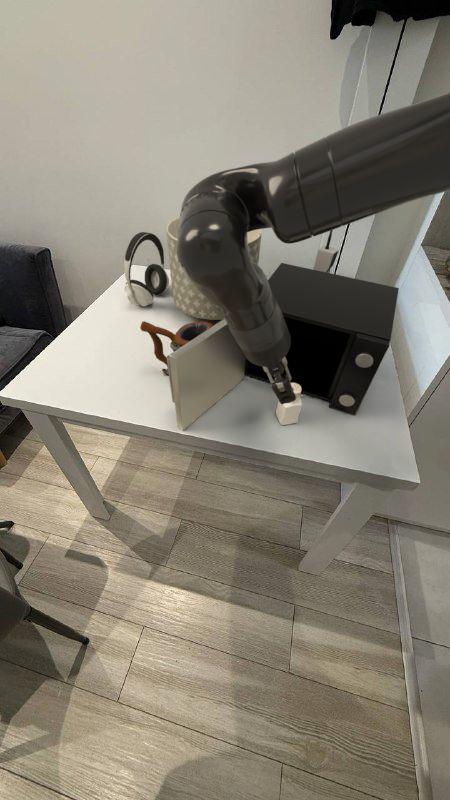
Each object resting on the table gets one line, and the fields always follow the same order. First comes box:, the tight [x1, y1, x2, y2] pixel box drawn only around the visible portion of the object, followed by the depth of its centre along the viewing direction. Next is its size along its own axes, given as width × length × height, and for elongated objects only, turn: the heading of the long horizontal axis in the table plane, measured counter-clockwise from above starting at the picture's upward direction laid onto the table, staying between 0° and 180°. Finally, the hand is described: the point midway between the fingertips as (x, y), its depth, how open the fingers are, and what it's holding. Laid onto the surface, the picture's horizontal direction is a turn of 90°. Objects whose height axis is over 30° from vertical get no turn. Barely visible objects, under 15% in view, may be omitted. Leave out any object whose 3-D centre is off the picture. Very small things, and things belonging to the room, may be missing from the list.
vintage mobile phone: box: [313, 230, 340, 273], centre depth 100 cm, size 4×5×25 cm
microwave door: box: [166, 319, 246, 432], centre depth 69 cm, size 5×22×20 cm, turn 141°
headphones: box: [123, 231, 170, 307], centre depth 99 cm, size 19×8×20 cm, turn 157°
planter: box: [166, 216, 263, 321], centre depth 95 cm, size 25×25×24 cm
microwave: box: [244, 262, 399, 416], centre depth 77 cm, size 24×28×20 cm
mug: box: [139, 320, 214, 376], centre depth 76 cm, size 18×12×15 cm, turn 78°
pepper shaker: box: [275, 383, 303, 426], centre depth 69 cm, size 4×4×10 cm
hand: (284, 379), depth 61 cm, fingers open, 8 cm apart
